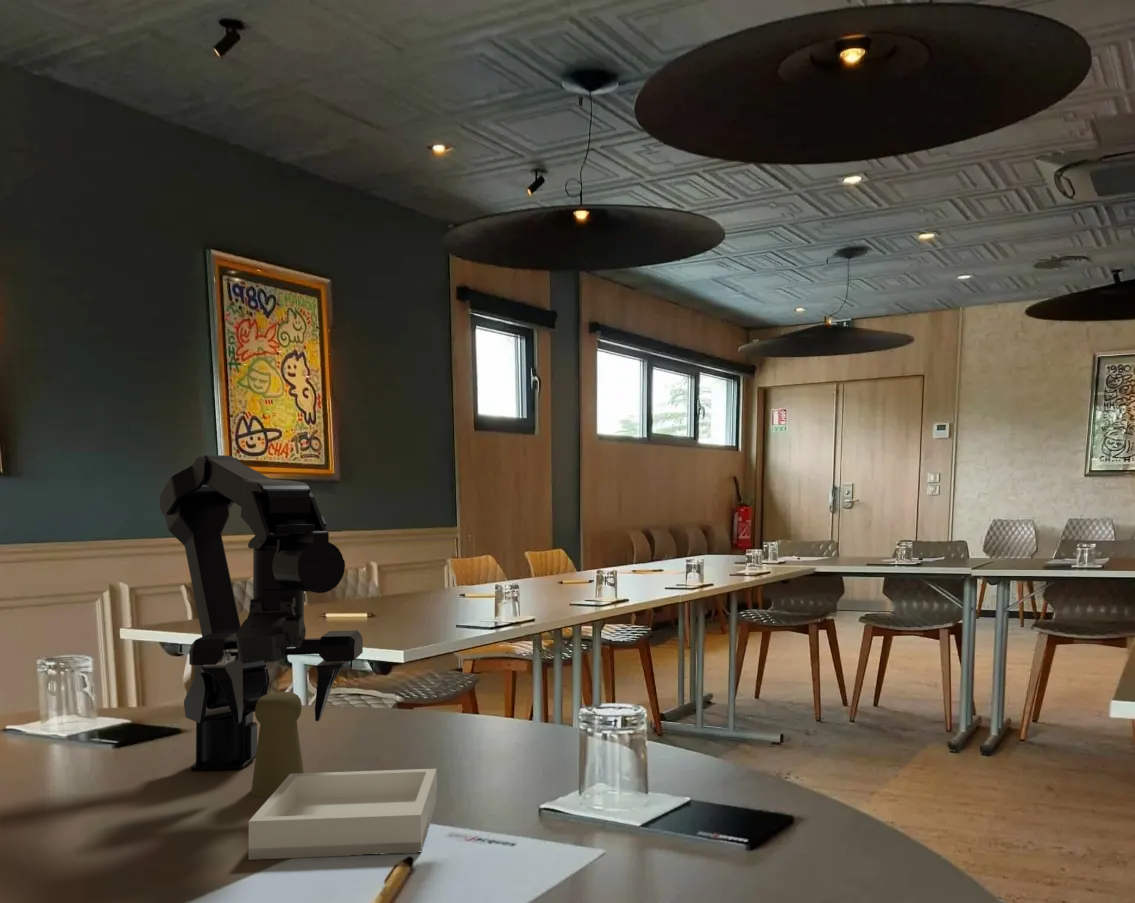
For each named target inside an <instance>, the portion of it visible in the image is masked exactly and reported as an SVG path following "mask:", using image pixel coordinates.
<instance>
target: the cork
mask: <svg viewBox="0 0 1135 903" xmlns="http://www.w3.org/2000/svg"><path fill="white" fill-rule="evenodd" d="M302 708H303V704H302V700H301V698H300V696H299V695H298V694H296V693H294V692H292V691H291V692H289V691H274V692H270V693H267V695H264V696H262V697H261V698H259V700H258V702H257V704H256V707H255V712H254V716H255V718H256V721H257V723H258V724H259V729H258V730H259V731H258V736H257V752H256V756H255V761H254V766H253V768H254V769H253V777H252V782H251V791H250V795H252V796H253V797H255V798H260V799H269V798H270V796H271V795H272V794H273V793H274V792H275V791H276V790H277V788H278V787H279V786H280V785H281V784H282V783H283V782H284V780H285V779H286V778H287V777H288V776H289V775H290V774H297V773H305V772H304V764H303V757H302V749H301V743H300V742H301V741H300V735H299V728H298V719H300V716H301V714H302V713H301V712H302V710H303V709H302Z"/></svg>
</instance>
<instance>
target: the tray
mask: <svg viewBox="0 0 1135 903" xmlns="http://www.w3.org/2000/svg"><path fill="white" fill-rule="evenodd" d="M437 771H438V770H437V768H417V769H416V768H415V769H414V768H413V769H412V768H411V769H387V770H361V771H360V770H358V771H355V770H354V771H337V772H336V771H334V772H333V771H332V772H331V771H329V772H327V771H326V772H304V773H297V774H290V775H289V776H288V777H287V778H286V779H285V780H284V782H283V783H282V784H281V785H280V786H279V787H278V788H277V790H276V791H275V792H274V793H273V794H272V795H271V796H270V798H267V799H266V801H265V802H264V803H263V804H262V805H261V806H260V808H259V809H257V811H256V812H255V813H254V814H253V815H252V816H251V818H250V819H249V821H248V861H249V860H254V861H255V860H276V859H278V860H279V859H299V858H301V859H303V858H324V857H325V858H326V857H327V858H328V857H329V858H330V857H348V856H349V857H352V856H351V855H355V856H363V855H362V854H375V853H377V854H380V855H382V854H381V853H384V854H383V855H387V854H386V853H405V854H413V853H412V852H419V851H423V849H422V847H423V848H424V845H423V844H425V842H424V841H426V839H425V838H427V836H428V832H429V829H430V825H431V821H432V818H433V815H434V811H435V808H436V806H437V805H436V804H437V801H438V794H437V793H438V791H437V790H438V788H437V787H438V785H437V784H438V782H437V781H438V780H437V779H438V777H437V776H438V775H437ZM428 828H429V829H428Z"/></svg>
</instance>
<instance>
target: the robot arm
mask: <svg viewBox="0 0 1135 903" xmlns="http://www.w3.org/2000/svg"><path fill="white" fill-rule="evenodd" d="M311 491H312V490H311V488H310V487H309V485H307V483H306V482H302V481H296V480H289V479H288V480H286V479H285V480H284V479H273V478H270V477H268V476H266V475H264V474H263V473H261V472H259V471H257V470H255V469H253V468H251V467H250V466H248V465H246V464H244V463H243V462H240V460H239V459H238V457H234V456H232V455H223V454H222V455H221V454H220V455H219V454H203V455H202V456H198V457H197V458H196V459H195V460H194V462H193V463H192V465H190V466H188V467H187V468H184V469H183V470H181V471H179V472H177V473H176V474H174V475H172V476H171V477H170V479H169V480H168V481H167V483H166V484H165V486H164V488H163V490H162V491H161V493H160V496H159V508H160V512H161V514H162V515H163V516H164V520H165V522H166V525H167V529H168V531H169V532H170V534H172V535H173V537H175V538H176V539H177V540H178V542H180V543H181V544H182V545H183V546H184V551H185V554H186V559H187V566H188V570H189V574H190V580H191V586H192V591H193V595H194V596H193V597H194V601H195V602H194V603H195V607H196V611H197V617H198V623H199V626H200V627H199V628H200V631H201V637H199V638H197V639H195V640H194V641H193V642H192V643H191V644H190V647H189V650H188V653H189V657H188V658H189V659H188V660H189V663H188V665H190V666H194V667H193V668H194V678H193V680H192V683H191V685H190V687H189V689H188V691H187V693H186V695H185V698H184V700H183V708H184V715H185V718H186V719H188V720H191V721H193V722H195V762H194V763H192V764H191V765H190V771H208V770H209V771H210V770H211V771H212V770H213V771H214V770H234V769H235V770H237V769H242V768H244V767H245V766H246V765H248V764H249V763H250V762H251V761H252V760H253V759H254V758H256V752H257V745H258V722H256V721H254V713H255V707H256V704H257V702H258V700H259V698H261V697H262V696H264V695H267V694H268V689H269V683H270V675H269V674H270V673H269V670H268V668H267V664H266V662H268V663H276V662H279V661H280V660H282V659H283V658H284V657H285V656H291V655H293V656H295V655H298V656H299V655H318V656H319V657H320V658H321V659H322V661H320V662H319V663H318V664H317V665H316V673H317V681H316V682H317V683H316V684H317V685H316V692H315V694H316V695H315V702H314V703H315V704H314V719H315V722H319V721H321V719H322V716H323V714H324V710H325V707H326V705H327V701H328V699H329V696H330V693H331V691H332V687H333V684H334V682H335V681H336V678H337V676H338V674H339V672H340V670H341V669H344V668H345V667H346V666H347V665H349V663H350V662H353V661H355V660H356V659H357V658H359V656H360V655H362V653H364V652H363V649H364V648H363V646H364V643H363V635H362V633H360V632H359V630H355V629H353V630H329V631H327V632H325V633H324V634H323V635H322V636H320V637H319V638H318V637H317V638H312V637H311V638H306V631H307V630H306V625H305V624H306V623H305V603H306V600H307V598H306V597H307V596H306V593H305V592H309V593H314V594H315V593H316V594H324V593H325V594H326V593H328V592H331V591H332V590H333V589H335V588H336V587H337V586H338V585H339V584H340V583H341V581H342V579H343V577H344V574H345V570H346V561H345V560H344V557H343V554H342V553H341V552H342V551H340V549H339V548H338V547H337V545H335V544H333V543H332V542H330V541H329V538H330V537H329V536H330V535H329V531H327V528H326V527H327V521H326V520H325V517H324V516H323V514H322V513H321V511H320V508H319V506H318V503H317V501H316V498H315V496H314V494H313V493H312V492H311ZM234 503H235V504H236V505H238V506H239V507H240V509H241V510H240V516H239V517H240V518H241V519H242V520H243V521H244V522H245V524H246V525H247V526H248V527H249V528H250V530H251V531H252V533H253V534H254V536H253V537H252V538H251V539H250V540H249V541H248V544H247V546H248V549H253V554H252V555H253V561H252V562H253V565H252V566H253V567H252V570H253V571H252V572H253V573H252V574H253V575H252V576H253V577H252V578H253V580H252V582H253V583H252V588H253V589H252V593H253V595H252V598H251V599H250V603H249V612H248V614H247V618H246V619H244V621H243V622H242V624H241V621H240V617H239V612H238V607H237V603H236V602H237V601H236V598H235V593H234V588H233V583H232V578H231V574H230V570H229V565H228V559H227V555H226V552H225V550H226V549H225V546H224V541H223V536H222V533H223V530H224V529H225V526H226V524H227V522H228V520H229V518H230V516H231V515H230V509H231V507H232V506H233V504H234ZM265 661H266V662H265Z"/></svg>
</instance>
